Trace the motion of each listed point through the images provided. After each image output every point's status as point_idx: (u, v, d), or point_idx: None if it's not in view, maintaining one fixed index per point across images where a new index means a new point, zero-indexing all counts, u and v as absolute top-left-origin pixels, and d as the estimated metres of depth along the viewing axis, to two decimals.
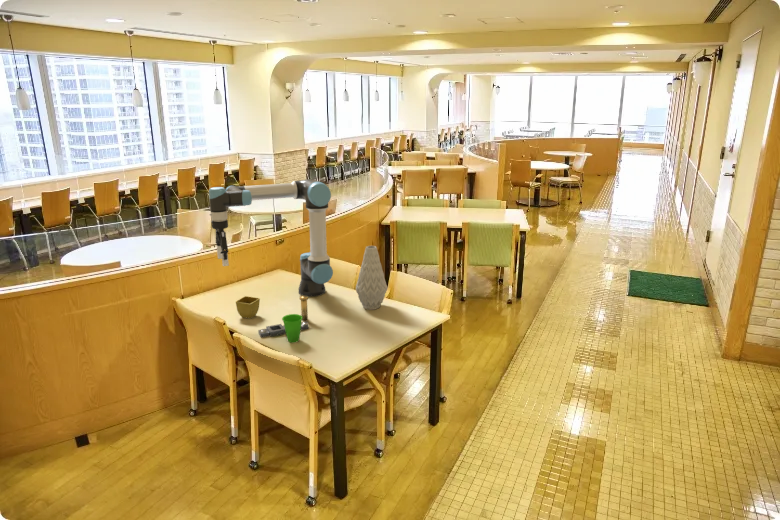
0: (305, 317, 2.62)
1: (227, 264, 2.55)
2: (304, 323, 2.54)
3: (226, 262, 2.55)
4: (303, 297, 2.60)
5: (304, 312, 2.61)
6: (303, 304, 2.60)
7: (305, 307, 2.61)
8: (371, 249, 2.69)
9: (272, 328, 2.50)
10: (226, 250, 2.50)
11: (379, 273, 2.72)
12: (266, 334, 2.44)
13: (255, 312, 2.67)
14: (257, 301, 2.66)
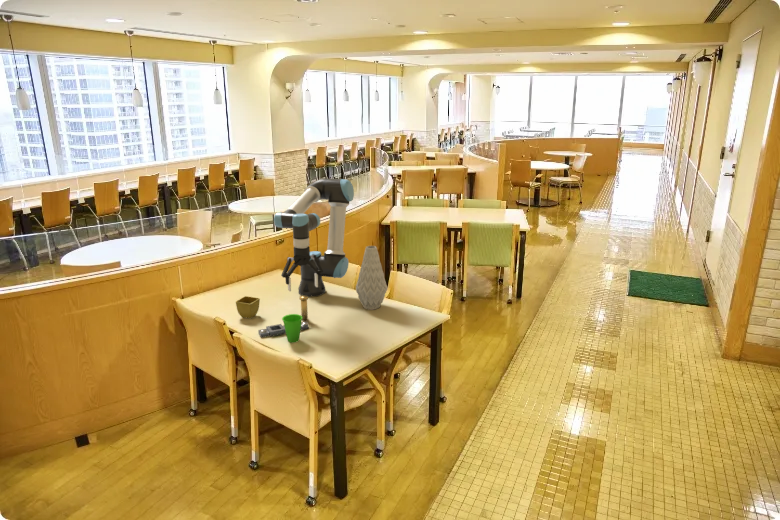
0: (305, 317, 2.62)
1: (289, 289, 2.55)
2: (304, 323, 2.54)
3: (288, 287, 2.55)
4: (303, 297, 2.60)
5: (304, 312, 2.61)
6: (303, 304, 2.60)
7: (305, 307, 2.61)
8: (371, 249, 2.69)
9: (272, 328, 2.50)
10: (282, 275, 2.52)
11: (379, 273, 2.72)
12: (266, 334, 2.44)
13: (255, 312, 2.67)
14: (257, 301, 2.66)
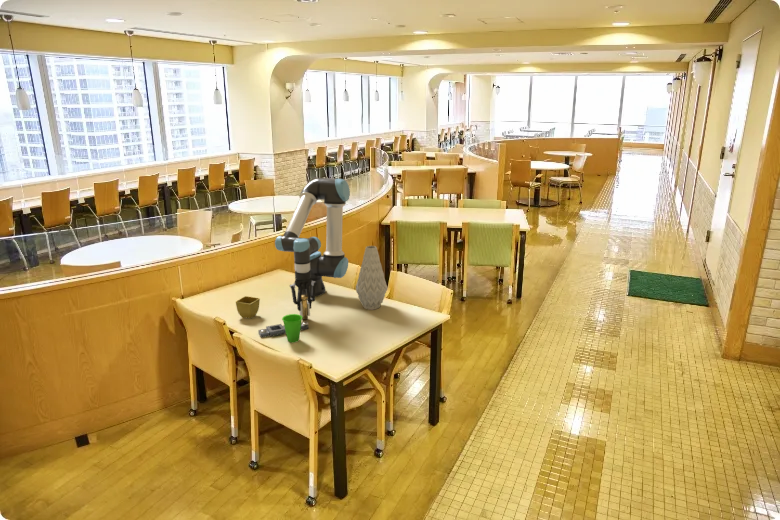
0: (305, 316, 2.62)
1: None
2: (304, 323, 2.54)
3: (300, 313, 2.62)
4: (303, 296, 2.60)
5: (304, 311, 2.62)
6: (303, 303, 2.60)
7: (305, 306, 2.61)
8: (371, 249, 2.69)
9: (272, 328, 2.50)
10: (294, 302, 2.59)
11: (379, 273, 2.72)
12: (266, 334, 2.44)
13: (255, 312, 2.67)
14: (257, 301, 2.66)
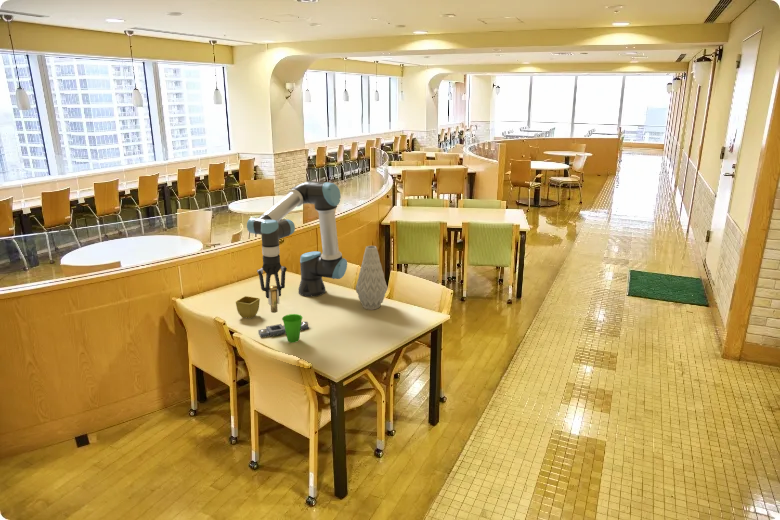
0: (274, 308, 2.44)
1: (269, 303, 2.43)
2: (304, 323, 2.54)
3: (269, 301, 2.43)
4: (272, 287, 2.42)
5: (273, 303, 2.43)
6: (272, 295, 2.42)
7: (274, 298, 2.43)
8: (371, 249, 2.69)
9: (272, 328, 2.50)
10: None
11: (379, 273, 2.72)
12: (266, 334, 2.44)
13: (255, 312, 2.67)
14: (257, 301, 2.66)
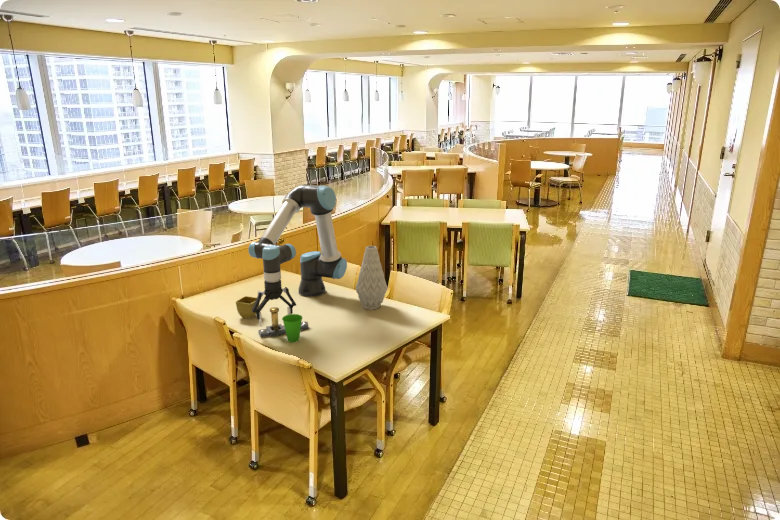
0: None
1: (260, 324, 2.44)
2: (304, 323, 2.54)
3: (259, 322, 2.44)
4: (273, 309, 2.45)
5: (275, 325, 2.46)
6: (273, 316, 2.45)
7: (276, 320, 2.46)
8: (371, 249, 2.69)
9: None
10: (252, 310, 2.41)
11: (379, 273, 2.72)
12: (266, 334, 2.44)
13: None
14: None
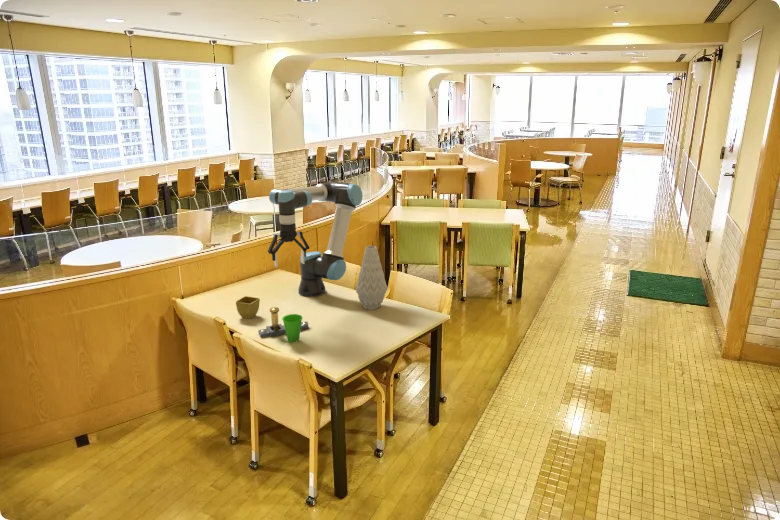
0: None
1: (275, 266, 2.57)
2: (304, 323, 2.54)
3: (275, 263, 2.58)
4: (273, 309, 2.45)
5: (275, 325, 2.46)
6: (273, 316, 2.45)
7: (276, 320, 2.46)
8: (371, 249, 2.69)
9: None
10: (269, 251, 2.54)
11: (379, 273, 2.72)
12: (266, 334, 2.44)
13: (255, 312, 2.67)
14: (257, 301, 2.66)
